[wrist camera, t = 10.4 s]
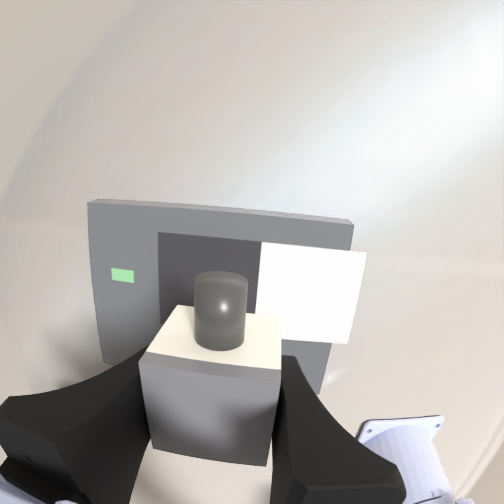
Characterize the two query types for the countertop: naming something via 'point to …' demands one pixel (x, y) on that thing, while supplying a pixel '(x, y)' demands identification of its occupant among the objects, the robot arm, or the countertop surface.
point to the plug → (214, 375)
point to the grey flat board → (222, 259)
